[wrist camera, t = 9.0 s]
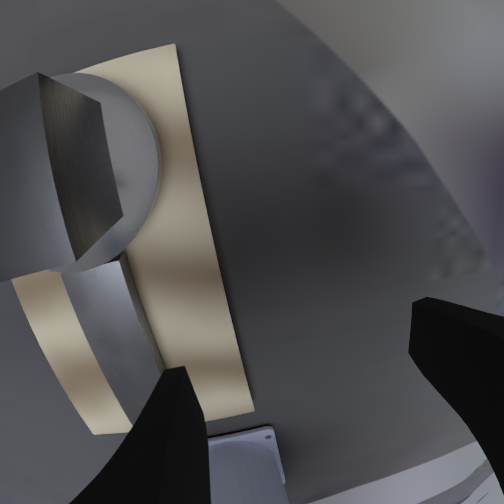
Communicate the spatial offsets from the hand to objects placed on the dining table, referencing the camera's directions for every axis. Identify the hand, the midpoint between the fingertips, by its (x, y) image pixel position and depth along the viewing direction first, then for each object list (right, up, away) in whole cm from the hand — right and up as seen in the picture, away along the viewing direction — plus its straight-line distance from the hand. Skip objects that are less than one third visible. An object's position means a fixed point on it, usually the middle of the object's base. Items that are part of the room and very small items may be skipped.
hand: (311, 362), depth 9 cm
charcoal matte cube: (-10, +7, +3) cm, 12 cm away
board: (-10, +2, +8) cm, 12 cm away
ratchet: (-9, +2, +7) cm, 11 cm away
